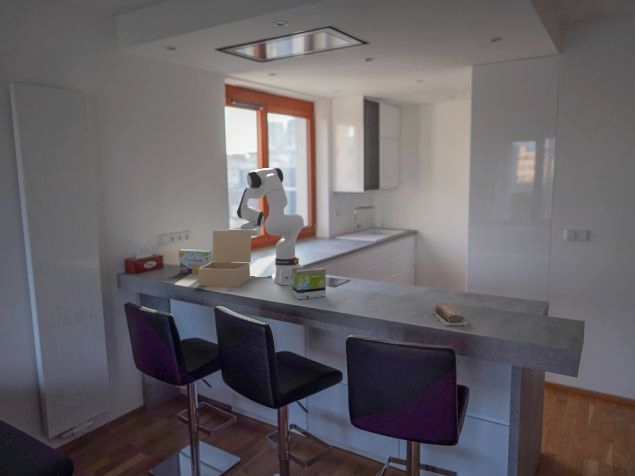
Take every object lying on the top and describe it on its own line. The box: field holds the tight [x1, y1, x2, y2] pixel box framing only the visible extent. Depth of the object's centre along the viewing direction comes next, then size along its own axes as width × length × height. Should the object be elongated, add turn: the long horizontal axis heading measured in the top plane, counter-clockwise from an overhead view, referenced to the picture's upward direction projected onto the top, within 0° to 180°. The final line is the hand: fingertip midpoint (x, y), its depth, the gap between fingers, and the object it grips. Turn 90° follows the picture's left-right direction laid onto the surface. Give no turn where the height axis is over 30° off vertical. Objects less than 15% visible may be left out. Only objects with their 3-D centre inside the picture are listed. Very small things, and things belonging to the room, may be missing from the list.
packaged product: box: [431, 303, 469, 326], centre depth 202 cm, size 18×5×10 cm
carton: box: [197, 261, 251, 288], centre depth 273 cm, size 24×18×10 cm
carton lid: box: [212, 230, 252, 263], centre depth 282 cm, size 24×19×1 cm
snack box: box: [178, 248, 213, 275], centre depth 299 cm, size 21×6×15 cm, turn 73°
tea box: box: [291, 265, 327, 300], centre depth 240 cm, size 15×10×15 cm, turn 112°
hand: (238, 233), depth 292 cm, fingers closed
